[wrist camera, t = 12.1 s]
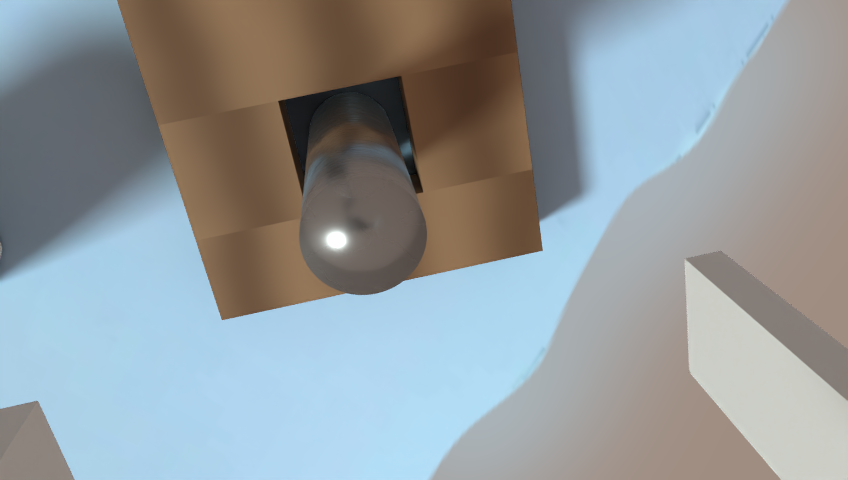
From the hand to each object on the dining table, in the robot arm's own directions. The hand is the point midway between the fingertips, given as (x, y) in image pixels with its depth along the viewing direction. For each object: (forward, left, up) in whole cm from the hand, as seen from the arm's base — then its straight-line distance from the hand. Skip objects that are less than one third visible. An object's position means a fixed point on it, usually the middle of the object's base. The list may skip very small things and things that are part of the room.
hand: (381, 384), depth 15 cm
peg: (0, 0, -23) cm, 23 cm away
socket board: (0, +4, -23) cm, 23 cm away
